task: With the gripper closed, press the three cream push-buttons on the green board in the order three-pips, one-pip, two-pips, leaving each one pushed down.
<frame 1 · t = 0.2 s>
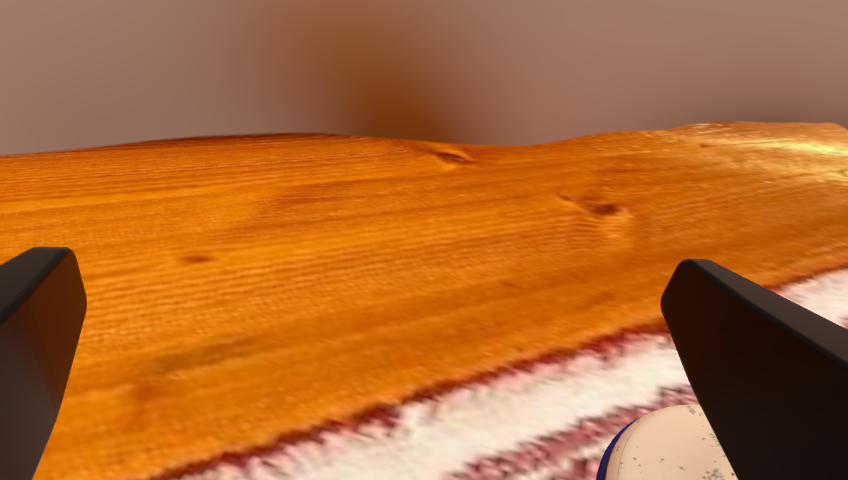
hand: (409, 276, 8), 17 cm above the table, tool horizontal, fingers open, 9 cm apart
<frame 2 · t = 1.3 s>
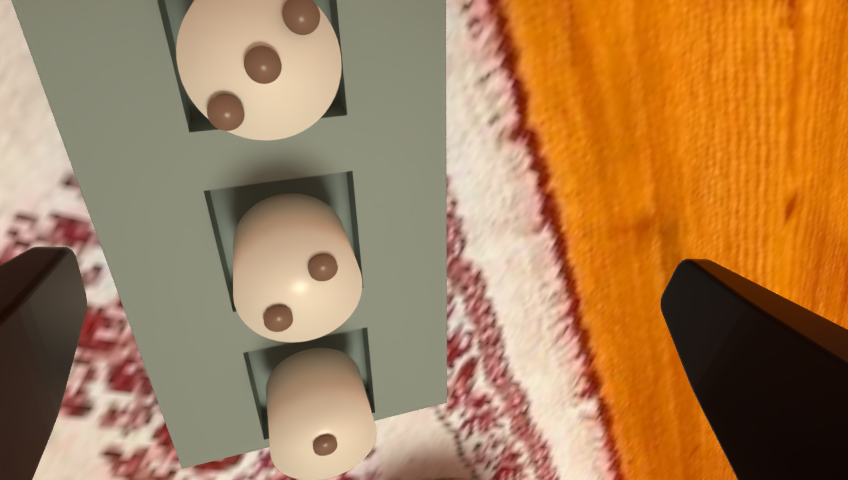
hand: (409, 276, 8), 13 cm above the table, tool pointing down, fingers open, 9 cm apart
board: (286, 219, 22), on the table
button three: (260, 53, 15), point 4 cm above the table, slide at 0.0 cm
button two: (295, 267, 19), point 4 cm above the table, slide at 0.0 cm
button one: (319, 414, 22), point 4 cm above the table, slide at 0.0 cm
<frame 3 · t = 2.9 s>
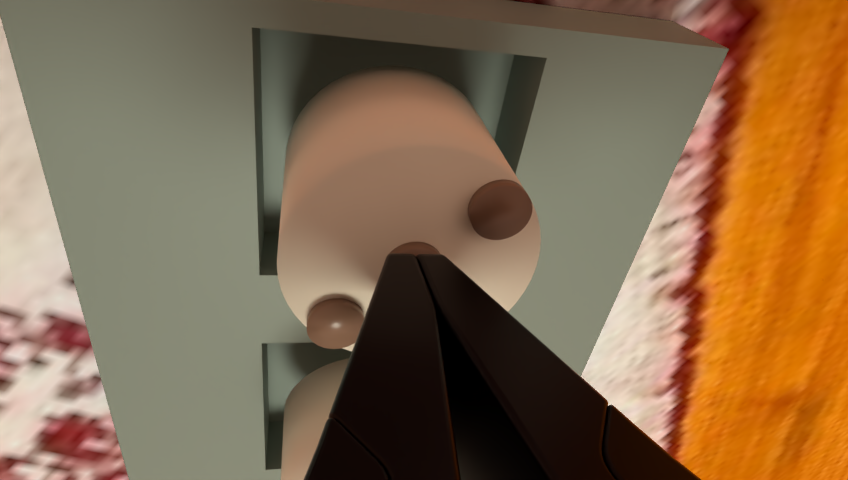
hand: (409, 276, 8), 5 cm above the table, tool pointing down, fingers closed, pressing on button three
board: (356, 352, 16), on the table
button three: (400, 212, 9), point 3 cm above the table, slide at 0.4 cm, touching gripper
button two: (367, 467, 13), point 4 cm above the table, slide at 0.0 cm
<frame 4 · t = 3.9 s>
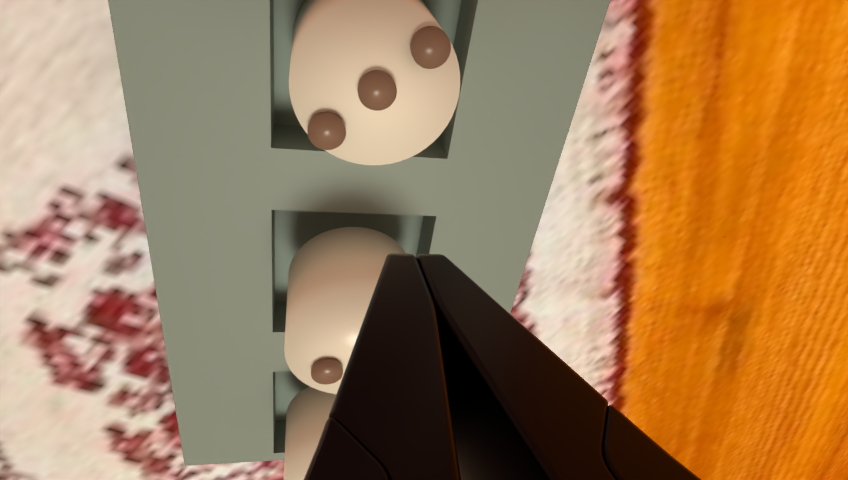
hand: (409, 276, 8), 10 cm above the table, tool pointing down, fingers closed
board: (347, 241, 20), on the table
button three: (371, 68, 14), point 2 cm above the table, slide at 1.6 cm
button two: (353, 312, 17), point 4 cm above the table, slide at 0.0 cm
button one: (339, 449, 21), point 4 cm above the table, slide at 0.0 cm
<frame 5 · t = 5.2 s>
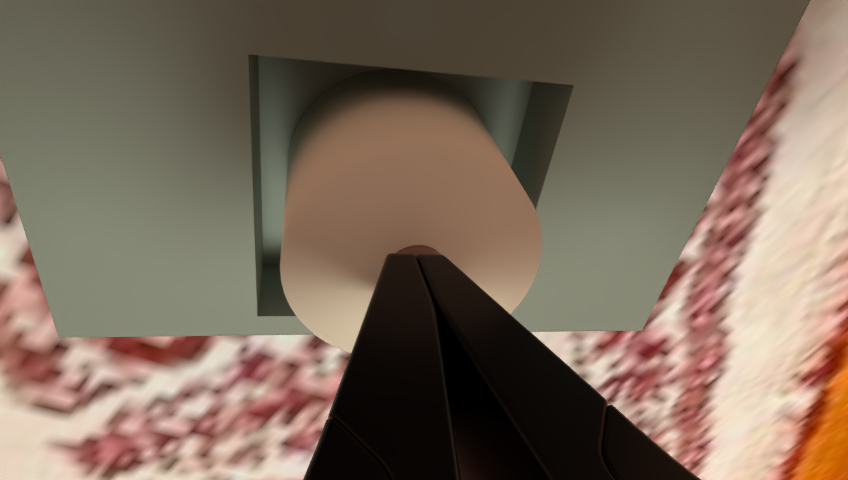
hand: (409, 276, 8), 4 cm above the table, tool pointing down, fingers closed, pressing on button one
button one: (402, 215, 10), point 2 cm above the table, slide at 1.6 cm, touching gripper
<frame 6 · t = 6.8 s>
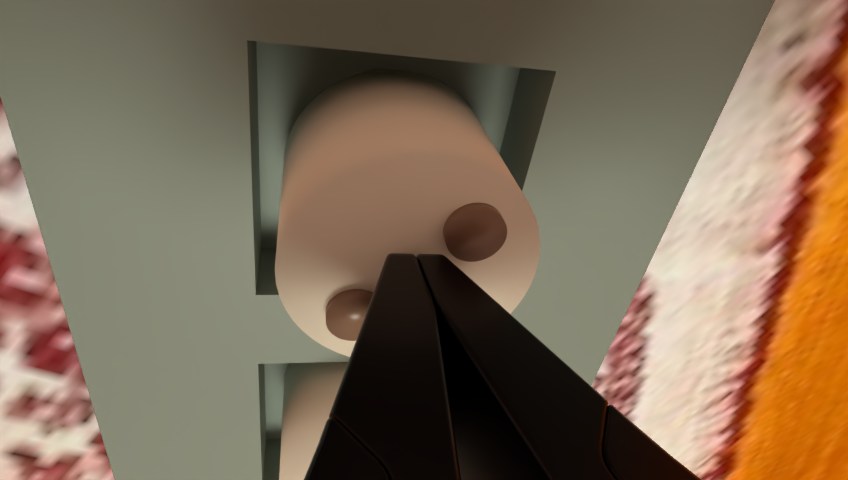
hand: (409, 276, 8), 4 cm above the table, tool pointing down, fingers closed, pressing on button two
board: (382, 144, 12), on the table
button two: (399, 217, 9), point 3 cm above the table, slide at 0.9 cm, touching gripper
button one: (362, 433, 14), point 2 cm above the table, slide at 1.6 cm
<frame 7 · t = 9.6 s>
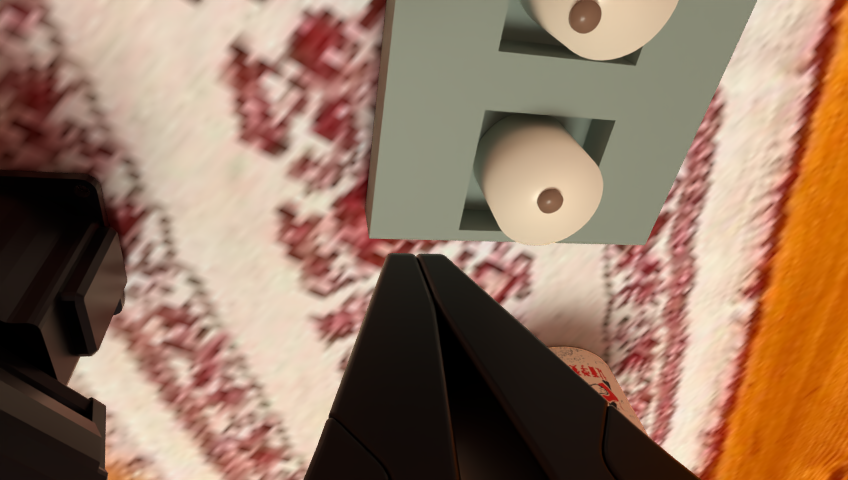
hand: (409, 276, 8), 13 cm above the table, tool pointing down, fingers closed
teacup with lid: (514, 400, 32), on the table
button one: (535, 179, 21), point 2 cm above the table, slide at 1.6 cm
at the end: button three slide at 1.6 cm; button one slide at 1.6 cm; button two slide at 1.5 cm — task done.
